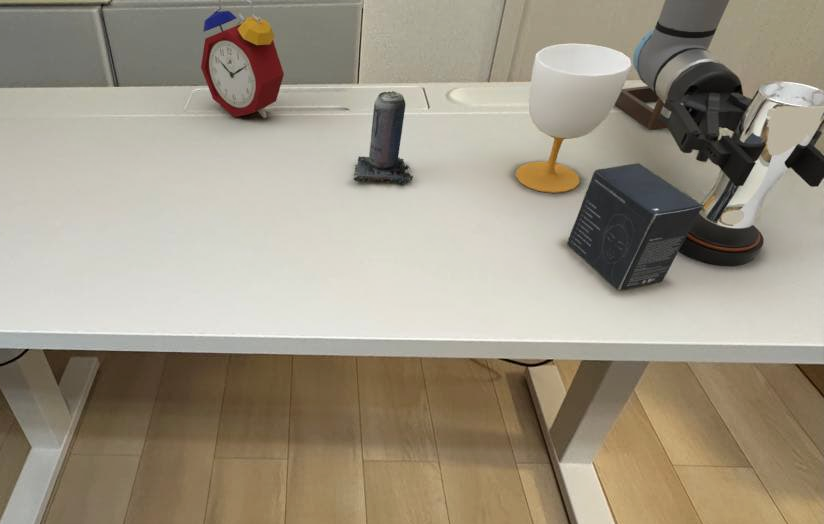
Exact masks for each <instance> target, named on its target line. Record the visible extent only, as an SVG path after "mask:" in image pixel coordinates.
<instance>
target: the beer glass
mask: <svg viewBox="0 0 824 524" xmlns="http://www.w3.org/2000/svg"><path fill="white" fill-rule="evenodd" d="M751 99H752V100H751V102H750V103H749V105H748V107H747V108H746V110H745V111H744V113H743V115H742V117H741V119H740V120H739V122H738V124H737V126H736V128H735V130H734V132H733V131H732V134H731V136H730V137H731V138H732V139H733V140H734V141H735V142H736V143H737V144H738V145H739V146H740V147H741V148H742V149H743V150H744V151H745V152H746V154H747V155H748V156H749V157H750V158H751V159H752V160H753V161H754V162H755V163H756V164H755V165H754V167H753V169H752V171H751V173H750V174H749V176H748V178H747V180H746V181H745V183H744V185H743V186H735V185H734V183H733V182H732V181H731V180H730V179H729V178H728V177H727V175H726V174H725V173H724V172H723V171H722V170H721V169H720V171H719V174H718V177H717V179H716V181H715V184H714V185H713V187H712V188H711V190H710V192H709V193H708V194H707V196H706V197H705V198H703V200H702V201H701V203H700V204H702V205H703V207H702V209H701V210H700V212H699V214H700V216H701V217H702V218H703V219H705V220H706V221H708V222H710V223H712V224H714V225H717V226H720V227H723V228H728V229H745V228H748V227H751V226H752V225H755V223H756V220H757V219H758V216H759V214H760V210H761V208H762V205H763V203H764V201H765V199H766V197H767V196H768V194H770V191H772V189H773V188H774V187H775V186H776V184H777V183H778V182H779V181H780V180H781V179H782V178H783V176H785V174H786V173H787V172H788V171H789V170H790V169H791V166H792V165H793V164H794V163H795V161H796V160H797V159H798V158H799V156H800V155H801V154H802V153H803V151H804V150H805V148H806V147H807V145H808V144H809V142H810V141H811V139H812V137H813V136H814V134H815V132H816V131H817V129H818V130H819V127H820V125H821V123H822V121H823V119H824V90H823V89H821V88H820V87H816V86H813V85H809V84H805V83H801V82H794V81H769V82H766V83H763V84H760V85H759V86H758V88H757V90H756V92H755V94H754V96H753V97H752V98H751Z"/></svg>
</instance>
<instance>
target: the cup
mask: <svg viewBox="0 0 824 524" xmlns="http://www.w3.org/2000/svg"><path fill="white" fill-rule="evenodd" d="M632 66H633V65H632V61H631V58H630V57H629V56H627V55H625V53H623V52H621V51H619V50H616V49H614V48H613V49H612V48H611V47H607V46H601V45H596V44H590V43H574V42H573V43H561V44H553V45H549V46H546V47H543V48H542V49H540V50H539V51H538V52H536V53H535V56H534V61H533V67H532V71H531V77H530V86H529V96H528V114H529V116H530V119H531V121H532V124H533V125H534V126H535V128H537V129H538V130H539V132H541V133H543V134H545V135H546V136H549V137H551V138H553V143H552V147H551V151H550V154H549V157H548V159H547V161H533V162H529V163H526V164H522V165H521V166H519V167H518V168H517V169H516V172H515V178H516V179H517V180H518V181H519V183H520V184H522V185H523V186H525V187H526V188H528V189H531V190H534V191H537V192H541V193H549V194H561V193H567V192H570V191H572V190H575V189H576V188H577V187H578V186H579V185H580V176H579V174H578V173H576V172H575V170H573V169H571V168H569V167H568V166H565V165H563V164H559V163H556V162H557V158H558V155H559V152H560V149H561V147H562V144H563V142H564V141H565V140H572V139H578V138H581V137H584V136H586V135H589V134H591V133H592V132H593V131H594V130H595V129H597V128H598V127H600V125H601V124H602V123H603V122H604V121H605V120H606V119H607V117H608V116H609V114H610V113H611V111H612V110H613V108H614V107H615V106H616V105H615V103H616V101H617V99H618V97H619V95H620V92H621V90H622V89H624V87H625V84H626V81H627V79H628V76H629V74H630V72H631V69H632Z"/></svg>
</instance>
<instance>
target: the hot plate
mask: <svg viewBox="0 0 824 524" xmlns="http://www.w3.org/2000/svg"><path fill="white" fill-rule="evenodd" d="M764 241H765V239H764V237H763V234H762V233H761V231H760V230H759V229H758V228H757V227H756V226H755V224H753V225H752V226H751V227H748V228H745V229H728V228H723V227H720V226H717V225H714V224H712V223H710V222H708V221H706V220H705V219H703V218H702V217H701V216H700V214H698V216H697V218H696V219H695V221H694V223H693V225H692V227H691V229H690V231H689V232H688V234H687V236H686V238H685V240H684V242H683V244H682V246H681V247H680V249H679V251H678V252H680V253H681V254H684V255H685V256H687V257H690V258H692V259H694V260H696V261H699V262H702V263H706V264H710V265H715V266H725V267H733V266H735V267H736V266H742V265H745V264H748V263H750V262H751V261H753V260H754V259H755V258H756V257H757V255H758V254H759V252H760V250H761V249H762V247H763V246H764Z"/></svg>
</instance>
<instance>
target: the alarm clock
mask: <svg viewBox="0 0 824 524" xmlns="http://www.w3.org/2000/svg"><path fill="white" fill-rule="evenodd" d="M244 1H245V2H247V3H249V4H250V11H251V16H248V17H247V18H245V17H244V15H243V14H242V12H239V13H238V14H237V15H238V16H239V17H240V19H239V20H238V22H237V23H236V24H237V25H234V26H233V27H230V28H227V29H225V30H224V29H223V26H222V25H225V24H226V23H230V22H232V21H234V20H236V19H238V17H237V16H236V15H235V14H233V13H232V12H231V10H222V0H218V7H217V8H216V7H213V8H212V9H213V11H212V12H213V13H212V14H211V15H210V16H208V17H207V18H206V19H204V23H203V24H204V25H203V30H202V31H203V32H207V31H209V30H212V29H215V28H217V27H219V28H220V32H218V33H216V34H213V35H210V36H208V37H206V38H205V39H204V44H203V51H202V58H201V64H200V69H201V72H202V74H203V77H204V80H205V82H206V84H207V87H208V90H209V93H210V94H211V97H212V100H213V101H215V102H216V103H217V104H218V105H219V106H221V108H223V109H224V110H225V111H226V112H227V113H229V114H230V115H231V116H232V117H234V118H237V117H241V116H242V117H243V116H246V115H251V114H253V113H256V112H258V113H259V114H260V116H261V118H263V119H266V118H267V117H268V116H267V112H266V109H265V108H266V107H268V106H270V105H272V104H274V103H275V102H277V100H278V96H279V92H280V89H281V86H282V82H283V79H284V77H285V76H284V75H285V73H284V70H283V69H284V68H283V67H282V64H281V61H280V55H279V54H278V51H277V47H276V44H275V42H274V39H275V35H274V32H273V31H274V30H273V28H272V26H271V25H270V23H269V22H268V20H265V19H263V18H261V17H262V16H261V17H260V16H256V15H255V14H254V13H255V12H254V5H253V1H252V0H244ZM221 10H222V11H221ZM241 21H242V23H241Z"/></svg>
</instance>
